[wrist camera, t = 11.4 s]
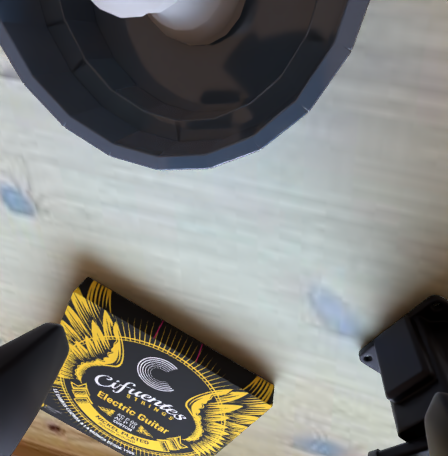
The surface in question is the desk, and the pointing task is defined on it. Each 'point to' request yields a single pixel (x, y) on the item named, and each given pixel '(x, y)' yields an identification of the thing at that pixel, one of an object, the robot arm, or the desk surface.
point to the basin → (178, 75)
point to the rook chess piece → (181, 16)
